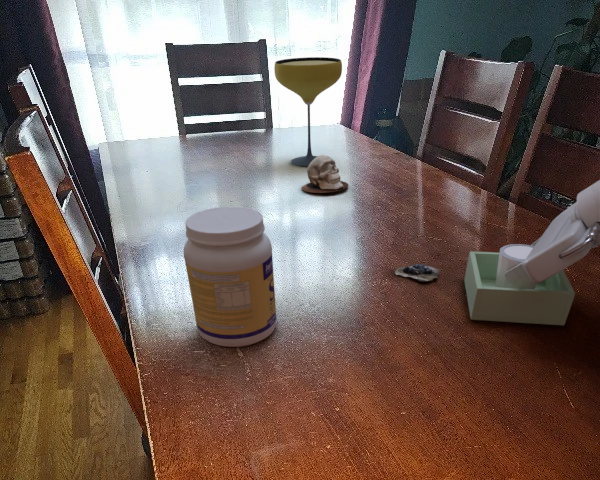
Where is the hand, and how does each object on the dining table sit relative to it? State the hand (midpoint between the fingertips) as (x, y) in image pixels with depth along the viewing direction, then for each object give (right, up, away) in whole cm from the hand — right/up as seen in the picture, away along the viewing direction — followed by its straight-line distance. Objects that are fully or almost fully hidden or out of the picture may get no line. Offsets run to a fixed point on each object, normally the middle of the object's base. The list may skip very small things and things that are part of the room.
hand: (515, 267), depth 79 cm
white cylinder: (+1, -4, +3) cm, 5 cm away
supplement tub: (-43, -10, -1) cm, 44 cm away
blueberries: (-13, +1, +12) cm, 18 cm away
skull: (-27, +34, +52) cm, 67 cm away
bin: (+1, -5, +4) cm, 6 cm away
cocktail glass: (-31, +50, +72) cm, 93 cm away
